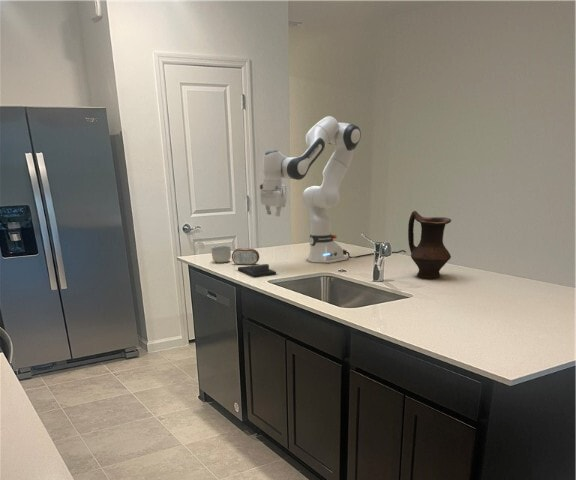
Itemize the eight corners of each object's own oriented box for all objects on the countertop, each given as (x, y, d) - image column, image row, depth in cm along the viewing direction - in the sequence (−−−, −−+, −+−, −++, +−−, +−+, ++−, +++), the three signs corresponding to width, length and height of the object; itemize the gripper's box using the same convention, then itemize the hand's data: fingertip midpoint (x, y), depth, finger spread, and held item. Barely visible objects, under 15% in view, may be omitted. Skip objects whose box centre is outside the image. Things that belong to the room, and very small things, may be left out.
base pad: (258, 267, 290) (258, 264, 289) (267, 271, 282) (267, 268, 281) (237, 270, 285) (237, 267, 284) (246, 273, 277) (245, 270, 276)
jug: (453, 274, 266) (460, 210, 254) (442, 282, 252) (449, 214, 240) (411, 270, 276) (416, 208, 264) (399, 277, 262) (403, 212, 250)
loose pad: (264, 270, 284) (263, 261, 282) (276, 274, 273) (275, 265, 272) (243, 272, 279) (242, 263, 277) (254, 277, 268) (254, 268, 266)
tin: (259, 264, 299) (259, 248, 296) (258, 265, 296) (258, 249, 293) (232, 263, 301) (231, 248, 297) (231, 265, 298) (230, 249, 295)
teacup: (233, 262, 304) (232, 248, 301) (214, 264, 300) (213, 249, 297) (226, 258, 316) (225, 244, 313) (208, 260, 312) (207, 245, 309)
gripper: (288, 186, 262) (288, 216, 267) (269, 184, 278) (269, 213, 284) (276, 187, 259) (277, 217, 264) (257, 185, 275) (258, 214, 281)
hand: (273, 215), depth 274 cm, fingers open, 8 cm apart
